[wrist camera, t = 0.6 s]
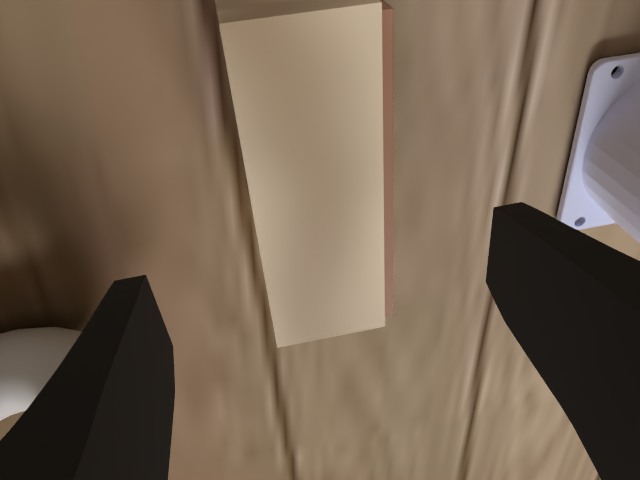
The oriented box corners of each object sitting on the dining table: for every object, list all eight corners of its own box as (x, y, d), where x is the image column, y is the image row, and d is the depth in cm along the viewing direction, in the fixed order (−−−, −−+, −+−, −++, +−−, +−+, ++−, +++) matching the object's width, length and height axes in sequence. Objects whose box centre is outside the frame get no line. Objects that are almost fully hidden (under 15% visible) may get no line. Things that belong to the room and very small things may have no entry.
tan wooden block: (319, -59, 17) (396, 0, 11) (336, 188, 23) (394, 324, 16) (207, -45, 17) (219, 23, 10) (251, 202, 22) (277, 347, 16)
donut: (138, 289, 24) (112, 517, 16) (158, 344, 26) (143, 571, 18) (-111, 332, 22) (-277, 602, 14) (-70, 386, 24) (-195, 648, 17)
